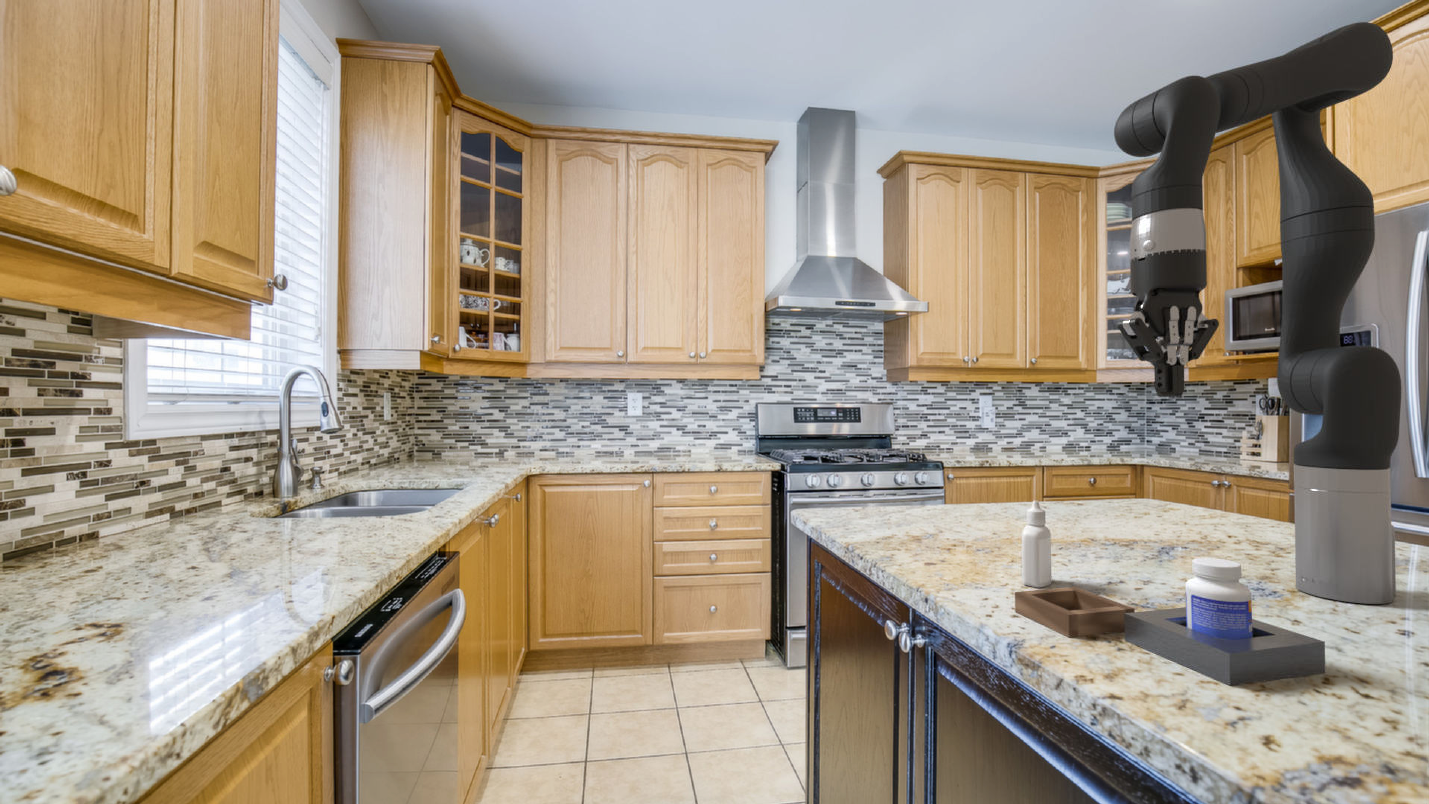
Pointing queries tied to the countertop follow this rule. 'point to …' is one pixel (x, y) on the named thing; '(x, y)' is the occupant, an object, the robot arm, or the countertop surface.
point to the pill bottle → (1218, 600)
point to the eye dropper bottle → (1036, 549)
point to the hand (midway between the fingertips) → (1169, 396)
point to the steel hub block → (1226, 648)
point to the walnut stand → (1085, 618)
